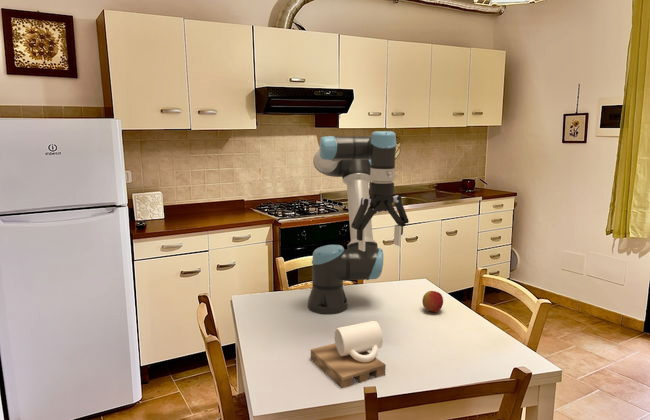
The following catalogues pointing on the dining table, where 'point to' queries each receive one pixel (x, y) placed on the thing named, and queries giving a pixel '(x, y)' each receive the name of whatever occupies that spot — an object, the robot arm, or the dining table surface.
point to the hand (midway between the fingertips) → (379, 247)
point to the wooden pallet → (345, 365)
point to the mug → (359, 340)
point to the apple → (432, 301)
